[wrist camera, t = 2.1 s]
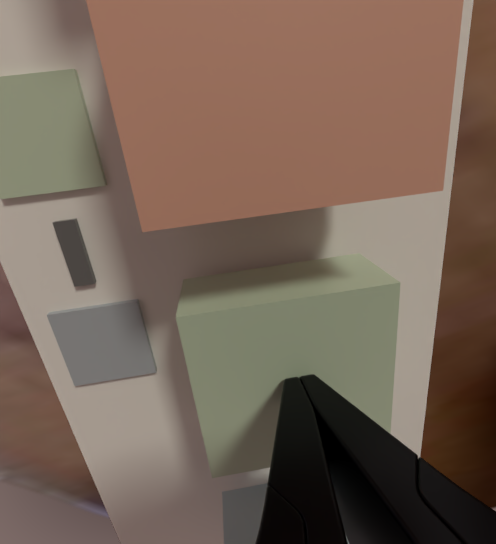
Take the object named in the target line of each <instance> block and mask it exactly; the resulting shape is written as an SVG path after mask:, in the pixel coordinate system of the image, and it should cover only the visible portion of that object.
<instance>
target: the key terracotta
mask: <svg viewBox="0 0 496 544" xmlns="http://www.w3.org/2000/svg"><path fill="white" fill-rule="evenodd" d="M463 1H464V0H86V2H87V7H88V11H89V15H90V19H91V23H92V27H93V31H94V35H95V39H96V44H97V48H98V52H99V56H100V60H101V64H102V68H103V72H104V76H105V81H106V85H107V89H108V93H109V97H110V101H111V105H112V109H113V113H114V118H115V122H116V126H117V130H118V134H119V138H120V142H121V146H122V150H123V155H124V159H125V163H126V167H127V171H128V175H129V179H130V183H131V187H132V192H133V196H134V200H135V204H136V208H137V212H138V216H139V220H140V224H141V229H142V232H148V231H155V230H163V229H170V228H177V227H184V226H191V225H199V224H206V223H213V222H220V221H228V220H235V219H242V218H249V217H257V216H264V215H271V214H278V213H285V212H293V211H300V210H307V209H314V208H322V207H329V206H336V205H343V204H350V203H358V202H365V201H372V200H379V199H387V198H394V197H401V196H408V195H416V194H423V193H430V192H437V191H443V187H444V178H445V169H446V159H447V150H448V141H449V131H450V122H451V113H452V104H453V94H454V85H455V76H456V66H457V57H458V48H459V39H460V29H461V20H462V11H463Z"/></svg>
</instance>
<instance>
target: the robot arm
mask: <svg viewBox="0 0 496 544" xmlns="http://www.w3.org/2000/svg"><path fill="white" fill-rule="evenodd" d="M267 486H268V487H267V488H266V494H265V501H264V506H263V511H262V516H261V522H260V527H259V531H258V535H257V539H256V542H255V544H348V543H347V539H348V542H349V544H496V511H494V510H493V509H491V508H490V507H488V506H487V505H485V504H484V503H482V502H481V501H480V500H478V499H477V498H475V497H474V496H472V495H471V494H469V493H468V492H466V491H465V490H464V489H462V488H461V487H459V486H458V485H457V484H455V483H454V482H453V481H451V480H450V479H449V478H447V477H446V476H444V475H443V474H442V473H440V472H439V471H438V470H436V469H435V468H434V467H433V466H431V465H430V464H429V463H427V462H426V461H425V460H424V459H422V458H421V457H419V458H418V455H417V454H416V453H414V452H413V451H412V450H411V449H409V448H408V447H407V446H405V445H404V444H403V443H402V442H400V441H399V440H398V439H396V438H395V437H394V436H393V435H391V434H390V433H389V432H388V431H386V430H385V429H384V428H382V427H381V426H380V425H379V424H377V423H376V422H375V421H373V420H372V419H371V418H370V417H368V416H367V415H366V414H364V413H363V412H362V411H361V410H359V409H358V408H357V407H356V406H354V405H353V404H352V403H350V402H349V401H348V400H347V399H345V398H344V397H343V396H341V395H340V394H339V393H338V392H336V391H335V390H334V389H332V388H331V387H330V386H329V385H327V384H326V383H325V382H323V381H322V380H321V379H320V378H318V377H317V376H316V375H314V374H309V375H304V376H300V378H298V377H292V378H286V379H285V380H284V383H283V389H282V395H281V402H280V408H279V414H278V420H277V427H276V433H275V439H274V446H273V452H272V458H271V464H270V471H269V477H268V483H267ZM345 534H346V535H345ZM346 537H347V539H346Z"/></svg>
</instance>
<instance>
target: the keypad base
mask: <svg viewBox="0 0 496 544" xmlns="http://www.w3.org/2000/svg"><path fill="white" fill-rule="evenodd" d="M472 8H473V0H464V1H463V11H462V20H461V29H460V39H459V48H458V57H457V66H456V76H455V85H454V94H453V104H452V113H451V122H450V131H449V141H448V150H447V159H446V169H445V178H444V187H443V191H437V192H430V193H423V194H416V195H408V196H401V197H394V198H387V199H379V200H372V201H365V202H358V203H350V204H343V205H336V206H329V207H322V208H314V209H307V210H300V211H293V212H285V213H278V214H271V215H264V216H257V217H249V218H242V219H235V220H228V221H220V222H213V223H206V224H199V225H191V226H184V227H177V228H170V229H163V230H155V231H148V232H142V229H141V224H140V220H139V216H138V212H137V208H136V204H135V200H134V196H133V192H132V187H131V183H130V179H129V175H128V171H127V167H126V163H125V159H124V155H123V150H122V146H121V142H120V138H119V134H118V130H117V126H116V122H115V118H114V113H113V109H112V105H111V101H110V97H109V93H108V89H107V85H106V81H105V76H104V72H103V68H102V64H101V60H100V56H99V52H98V48H97V44H96V39H95V35H94V31H93V27H92V23H91V19H90V15H89V11H88V7H87V2H86V0H0V262H1V264H2V267H3V269H4V271H5V274H6V276H7V278H8V281H9V283H10V285H11V288H12V290H13V292H14V295H15V297H16V299H17V302H18V304H19V306H20V309H21V311H22V313H23V316H24V318H25V321H26V323H27V325H28V328H29V330H30V332H31V335H32V337H33V339H34V342H35V344H36V346H37V349H38V351H39V353H40V356H41V358H42V360H43V363H44V365H45V367H46V370H47V372H48V374H49V377H50V379H51V382H52V384H53V386H54V389H55V391H56V393H57V396H58V398H59V400H60V403H61V405H62V407H63V410H64V412H65V414H66V417H67V419H68V421H69V424H70V426H71V428H72V431H73V433H74V435H75V438H76V440H77V442H78V445H79V447H80V450H81V452H82V454H83V457H84V459H85V461H86V464H87V466H88V468H89V471H90V473H91V475H92V478H93V480H94V482H95V485H96V487H97V489H98V492H99V494H100V496H101V499H102V501H103V503H104V506H105V508H106V511H107V513H108V515H109V518H110V520H111V522H112V524H113V527H114V529H115V531H116V534H117V536H118V539H119V541H120V543H121V544H224V530H223V502H222V492H224V491H229V490H234V489H240V488H245V487H250V486H255V485H261V484H266V483H268V477H269V471H270V468H264V469H259V470H254V471H248V472H243V473H238V474H232V475H227V476H222V477H216V478H212V475H211V471H210V467H209V462H208V458H207V453H206V449H205V445H204V440H203V436H202V431H201V427H200V422H199V418H198V414H197V409H196V405H195V400H194V396H193V392H192V387H191V383H190V378H189V374H188V370H187V365H186V361H185V356H184V352H183V347H182V343H181V339H180V334H179V330H178V325H177V321H176V313H177V308H178V303H179V298H180V293H181V288H182V283H183V279H189V278H196V277H202V276H209V275H216V274H222V273H229V272H236V271H243V270H249V269H256V268H263V267H270V266H276V265H283V264H290V263H297V262H303V261H310V260H317V259H324V258H330V257H337V256H344V255H351V254H357V253H360V254H361V255H362V256H364V257H365V258H367V259H368V260H369V261H371V262H372V263H374V264H375V265H376V266H378V267H379V268H381V269H382V270H384V271H385V272H386V273H388V274H389V275H391V276H392V277H393V278H395V279H396V280H398V281H399V282H401V283H400V298H399V313H398V328H397V343H396V358H395V373H394V388H393V403H392V418H391V433H390V434H391V435H393V436H394V437H395V438H396V439H398V440H399V441H400V442H402V443H403V444H404V445H405V446H407V447H408V448H409V449H411V450H412V451H413V452H414V453H416V454H417V455H418V458H419V457H420V453H421V445H422V436H423V427H424V419H425V410H426V402H427V393H428V385H429V376H430V367H431V359H432V350H433V342H434V333H435V325H436V316H437V308H438V299H439V290H440V282H441V273H442V265H443V256H444V248H445V239H446V230H447V222H448V213H449V205H450V196H451V188H452V179H453V170H454V162H455V153H456V145H457V136H458V128H459V119H460V111H461V102H462V93H463V85H464V76H465V68H466V59H467V51H468V42H469V33H470V25H471V16H472Z"/></svg>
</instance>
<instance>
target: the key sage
mask: <svg viewBox="0 0 496 544" xmlns="http://www.w3.org/2000/svg"><path fill="white" fill-rule="evenodd" d="M400 283H401V282H399V281H398V280H396V279H395V278H393V277H392V276H391V275H389V274H388V273H386V272H385V271H384V270H382V269H381V268H379V267H378V266H376V265H375V264H374V263H372V262H371V261H369V260H368V259H367V258H365V257H364V256H362V255H361V254H360V253H357V254H351V255H344V256H337V257H330V258H324V259H317V260H310V261H303V262H297V263H290V264H283V265H276V266H270V267H263V268H256V269H249V270H243V271H236V272H229V273H222V274H216V275H209V276H202V277H196V278H189V279H183V283H182V288H181V293H180V298H179V303H178V308H177V313H176V321H177V325H178V330H179V334H180V339H181V343H182V347H183V352H184V356H185V361H186V365H187V370H188V374H189V378H190V383H191V387H192V392H193V396H194V400H195V405H196V409H197V414H198V418H199V422H200V427H201V431H202V436H203V440H204V445H205V449H206V453H207V458H208V462H209V467H210V471H211V475H212V478H216V477H222V476H227V475H232V474H238V473H243V472H248V471H254V470H259V469H264V468H270V464H271V458H272V452H273V446H274V439H275V433H276V427H277V420H278V414H279V408H280V402H281V395H282V389H283V383H284V380H285V379H286V378H292V377H298V378H300V376H304V375H309V374H314V375H316V376H317V377H318V378H320V379H321V380H322V381H323V382H325V383H326V384H327V385H329V386H330V387H331V388H332V389H334V390H335V391H336V392H338V393H339V394H340V395H341V396H343V397H344V398H345V399H347V400H348V401H349V402H350V403H352V404H353V405H354V406H356V407H357V408H358V409H359V410H361V411H362V412H363V413H364V414H366V415H367V416H368V417H370V418H371V419H372V420H373V421H375V422H376V423H377V424H379V425H380V426H381V427H382V428H384V429H385V430H386V431H388V432H389V433H391V418H392V403H393V388H394V373H395V358H396V343H397V328H398V313H399V298H400Z"/></svg>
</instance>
